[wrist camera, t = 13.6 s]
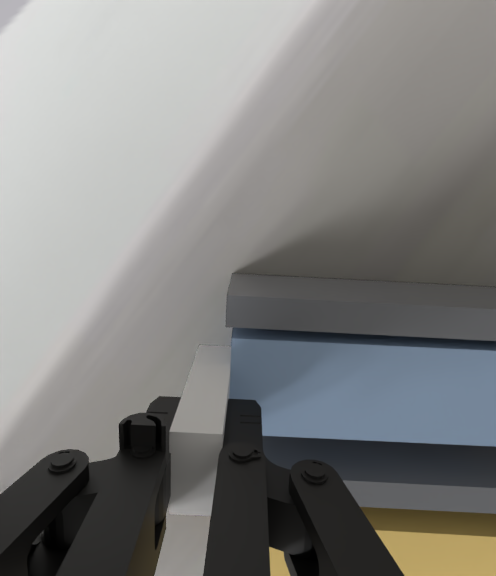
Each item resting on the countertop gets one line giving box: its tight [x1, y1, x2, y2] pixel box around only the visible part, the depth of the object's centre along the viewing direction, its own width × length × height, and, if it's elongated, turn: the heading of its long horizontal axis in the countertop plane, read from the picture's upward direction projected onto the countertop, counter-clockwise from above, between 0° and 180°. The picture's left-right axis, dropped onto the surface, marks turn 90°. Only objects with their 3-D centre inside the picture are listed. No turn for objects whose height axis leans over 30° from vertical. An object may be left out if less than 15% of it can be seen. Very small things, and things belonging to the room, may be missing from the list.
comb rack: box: [226, 273, 496, 514], centre depth 18 cm, size 17×16×5 cm
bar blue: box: [229, 327, 496, 447], centre depth 18 cm, size 12×4×4 cm, turn 87°
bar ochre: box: [269, 507, 496, 576], centre depth 20 cm, size 12×4×4 cm, turn 87°
